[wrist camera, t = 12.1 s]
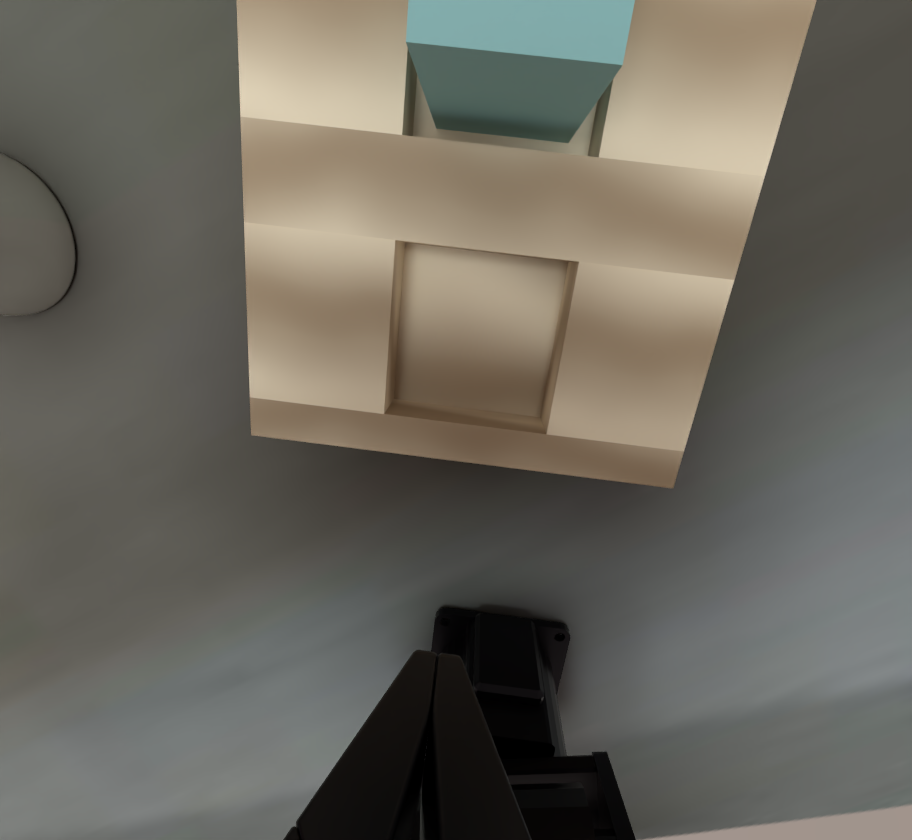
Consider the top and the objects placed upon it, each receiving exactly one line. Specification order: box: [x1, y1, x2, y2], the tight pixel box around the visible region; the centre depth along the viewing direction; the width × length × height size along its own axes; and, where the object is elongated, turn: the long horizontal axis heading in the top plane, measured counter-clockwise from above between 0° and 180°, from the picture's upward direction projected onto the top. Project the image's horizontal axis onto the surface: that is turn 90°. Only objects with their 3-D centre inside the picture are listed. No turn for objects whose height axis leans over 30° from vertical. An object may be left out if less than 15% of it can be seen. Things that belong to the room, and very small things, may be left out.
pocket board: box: [237, 0, 816, 488], centre depth 16 cm, size 18×16×2 cm
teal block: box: [406, 0, 635, 143], centre depth 12 cm, size 4×4×6 cm
